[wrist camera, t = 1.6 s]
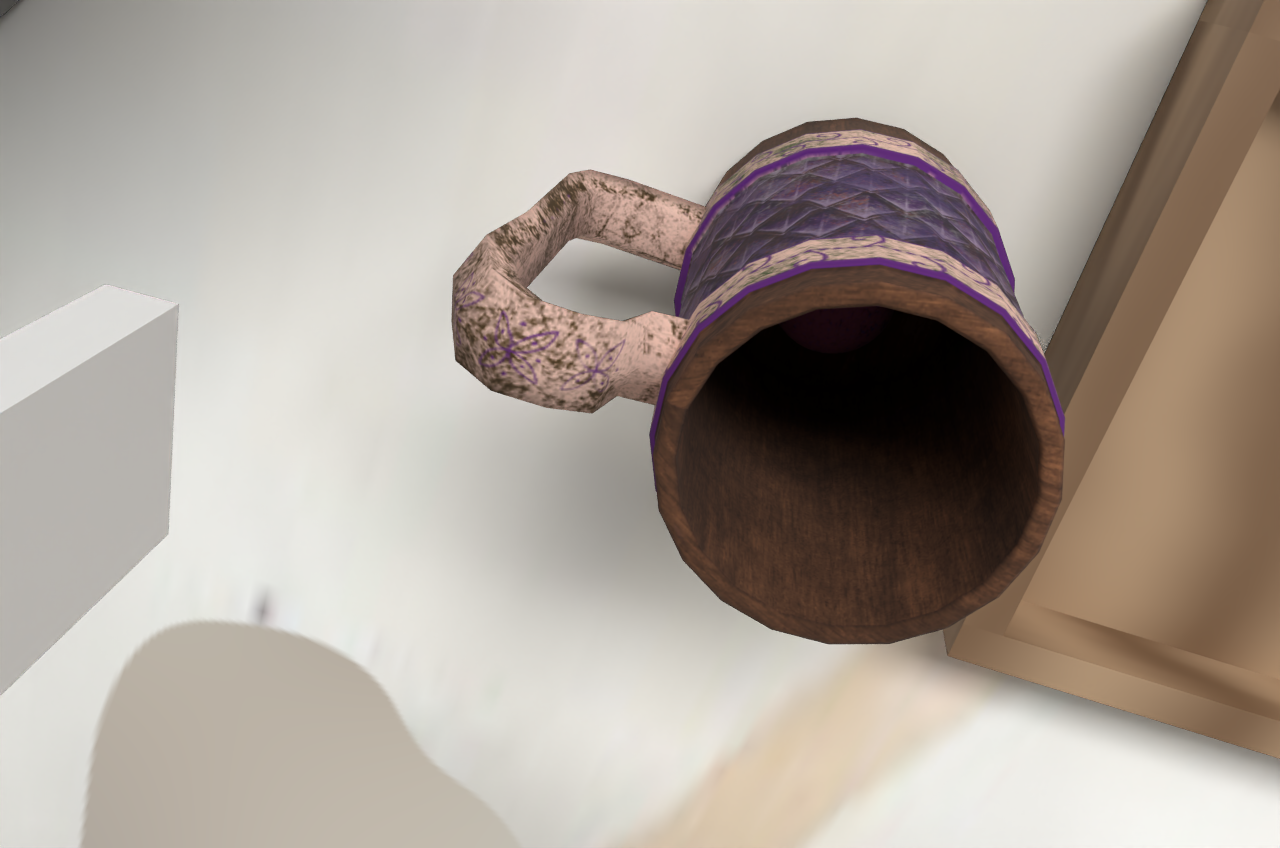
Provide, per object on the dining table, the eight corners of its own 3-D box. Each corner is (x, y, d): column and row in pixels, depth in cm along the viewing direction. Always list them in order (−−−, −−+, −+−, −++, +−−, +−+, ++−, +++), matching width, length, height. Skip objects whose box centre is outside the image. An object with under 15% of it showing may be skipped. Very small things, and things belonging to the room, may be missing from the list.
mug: (1050, 191, 25) (1225, 389, 14) (897, 443, 28) (948, 763, 17) (642, -1, 25) (507, 52, 14) (532, 275, 28) (350, 495, 17)
